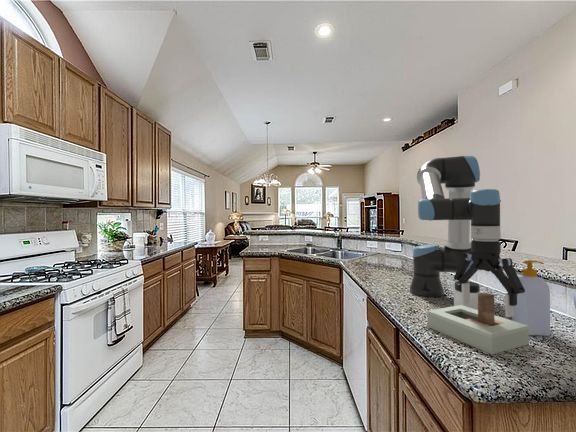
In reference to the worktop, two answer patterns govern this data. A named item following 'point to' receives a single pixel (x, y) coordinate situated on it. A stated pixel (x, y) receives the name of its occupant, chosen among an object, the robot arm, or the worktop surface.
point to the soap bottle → (533, 302)
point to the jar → (473, 295)
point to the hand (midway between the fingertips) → (486, 309)
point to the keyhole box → (478, 329)
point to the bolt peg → (486, 308)
